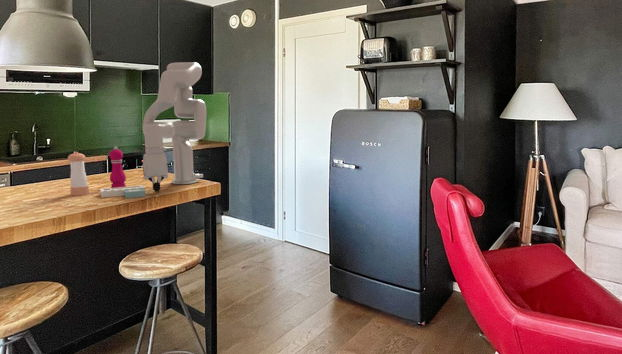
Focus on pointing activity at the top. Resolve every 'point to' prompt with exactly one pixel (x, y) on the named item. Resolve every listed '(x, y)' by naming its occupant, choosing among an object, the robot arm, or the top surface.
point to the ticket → (117, 191)
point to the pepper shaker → (78, 175)
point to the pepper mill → (117, 169)
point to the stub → (134, 193)
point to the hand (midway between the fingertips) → (156, 191)
